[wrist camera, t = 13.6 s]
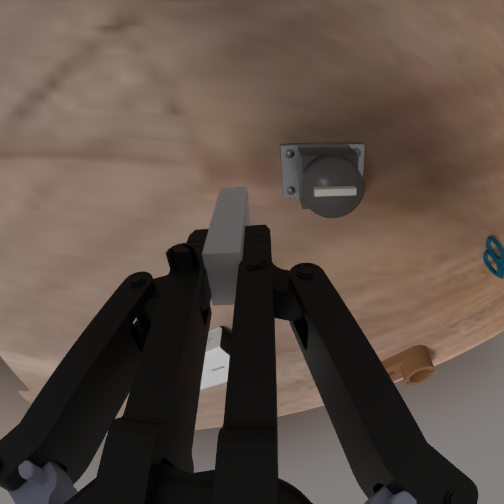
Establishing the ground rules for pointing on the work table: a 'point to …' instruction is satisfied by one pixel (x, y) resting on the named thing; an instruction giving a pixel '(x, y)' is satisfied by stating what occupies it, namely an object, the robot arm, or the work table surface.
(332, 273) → the work table surface
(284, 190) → the mounting plate
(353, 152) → the knob
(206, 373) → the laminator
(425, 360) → the bracket
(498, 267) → the scissors
